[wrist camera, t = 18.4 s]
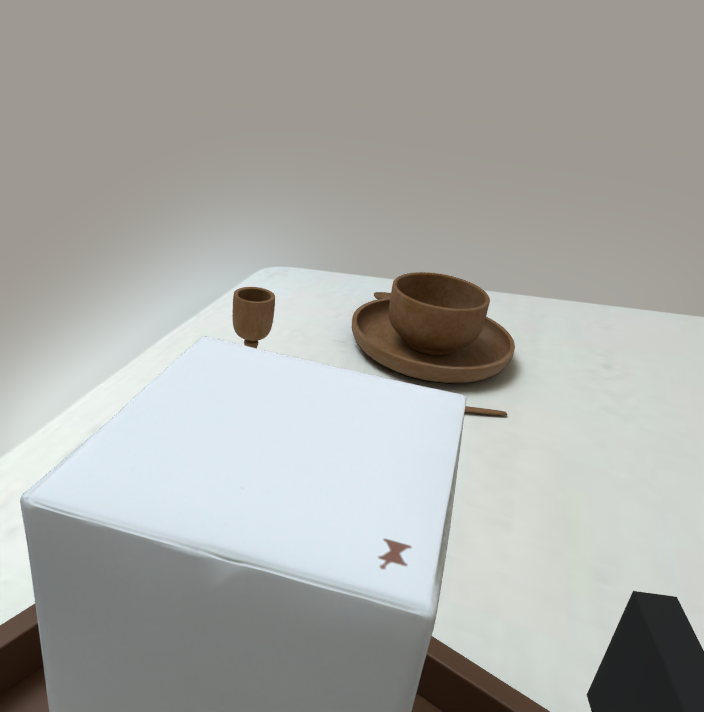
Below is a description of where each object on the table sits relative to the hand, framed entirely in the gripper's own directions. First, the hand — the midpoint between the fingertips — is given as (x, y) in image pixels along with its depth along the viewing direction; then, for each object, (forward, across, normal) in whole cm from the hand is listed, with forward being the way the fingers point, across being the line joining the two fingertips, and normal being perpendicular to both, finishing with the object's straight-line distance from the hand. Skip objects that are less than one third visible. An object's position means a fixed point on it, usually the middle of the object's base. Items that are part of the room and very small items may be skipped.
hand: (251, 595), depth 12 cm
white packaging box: (+3, 0, -11) cm, 12 cm away
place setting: (+35, +3, -12) cm, 37 cm away
